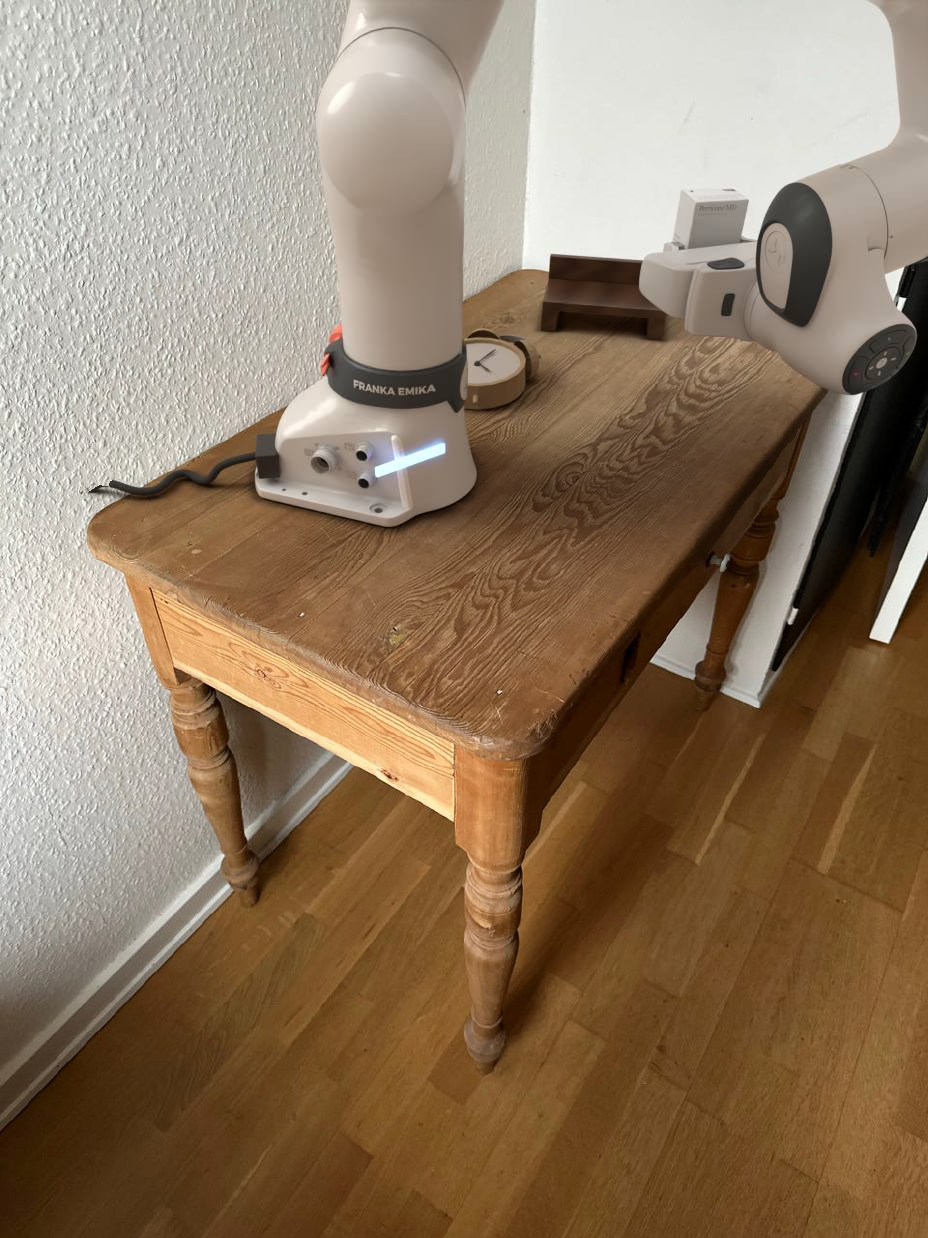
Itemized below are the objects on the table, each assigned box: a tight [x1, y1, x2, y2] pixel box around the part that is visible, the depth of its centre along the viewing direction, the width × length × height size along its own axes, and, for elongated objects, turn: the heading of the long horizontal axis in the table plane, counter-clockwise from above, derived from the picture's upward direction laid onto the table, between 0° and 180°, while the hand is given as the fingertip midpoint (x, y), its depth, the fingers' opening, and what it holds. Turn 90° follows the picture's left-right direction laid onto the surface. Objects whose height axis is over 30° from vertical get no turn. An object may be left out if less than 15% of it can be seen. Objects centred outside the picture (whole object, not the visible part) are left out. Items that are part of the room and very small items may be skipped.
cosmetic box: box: [671, 188, 750, 250], centre depth 97 cm, size 6×4×12 cm
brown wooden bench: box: [540, 253, 667, 341], centre depth 120 cm, size 16×9×7 cm, turn 81°
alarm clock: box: [463, 327, 542, 411], centre depth 108 cm, size 11×5×15 cm
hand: (699, 245), depth 97 cm, fingers closed on cosmetic box, 6 cm apart
